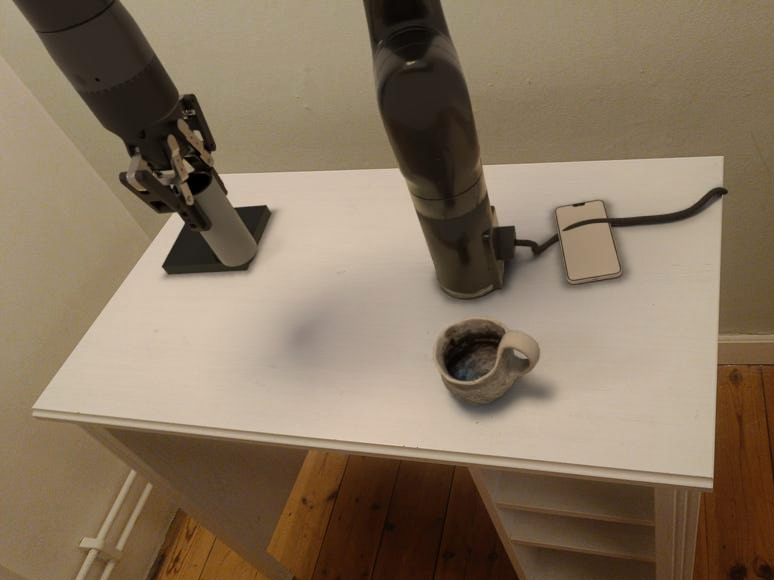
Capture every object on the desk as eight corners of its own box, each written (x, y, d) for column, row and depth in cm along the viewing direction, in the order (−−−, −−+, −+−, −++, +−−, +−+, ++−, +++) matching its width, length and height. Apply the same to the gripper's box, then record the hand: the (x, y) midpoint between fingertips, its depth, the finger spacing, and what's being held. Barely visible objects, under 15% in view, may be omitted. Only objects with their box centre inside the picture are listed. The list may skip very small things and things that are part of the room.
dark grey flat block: (274, 213, 102) (264, 196, 100) (249, 270, 95) (238, 254, 92) (197, 218, 105) (186, 203, 102) (168, 274, 98) (155, 259, 95)
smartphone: (567, 282, 81) (553, 207, 90) (567, 285, 82) (553, 210, 91) (623, 273, 80) (603, 198, 89) (623, 276, 81) (603, 201, 90)
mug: (452, 348, 79) (434, 297, 71) (549, 349, 76) (541, 296, 68) (439, 413, 74) (418, 366, 66) (543, 416, 71) (534, 368, 63)
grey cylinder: (248, 267, 71) (200, 197, 62) (214, 266, 72) (163, 198, 64) (263, 239, 73) (219, 168, 65) (230, 239, 74) (183, 169, 66)
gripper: (113, 106, 49) (221, 257, 63) (178, 17, 57) (261, 168, 71) (34, 116, 50) (157, 261, 64) (109, 28, 59) (203, 173, 72)
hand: (211, 211), depth 67 cm, fingers closed on grey cylinder, 4 cm apart
